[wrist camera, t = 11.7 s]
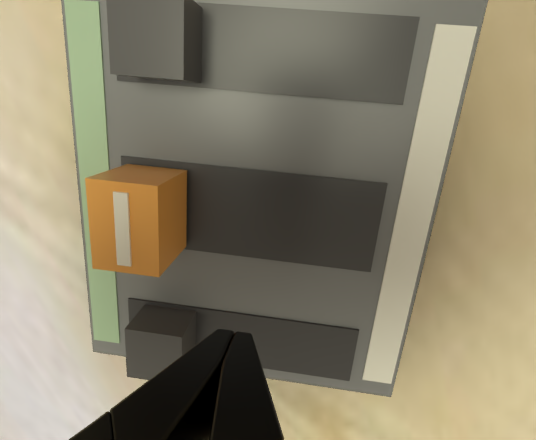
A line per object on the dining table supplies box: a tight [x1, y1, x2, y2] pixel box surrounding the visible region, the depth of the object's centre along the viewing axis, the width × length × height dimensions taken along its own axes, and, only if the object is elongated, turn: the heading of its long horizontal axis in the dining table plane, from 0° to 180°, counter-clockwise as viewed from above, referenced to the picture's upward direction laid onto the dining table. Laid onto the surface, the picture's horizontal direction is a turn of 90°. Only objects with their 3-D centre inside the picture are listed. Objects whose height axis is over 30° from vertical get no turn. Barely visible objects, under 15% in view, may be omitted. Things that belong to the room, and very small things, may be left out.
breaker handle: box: [85, 164, 187, 277], centre depth 16 cm, size 3×4×4 cm
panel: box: [61, 0, 488, 397], centre depth 18 cm, size 18×20×4 cm
